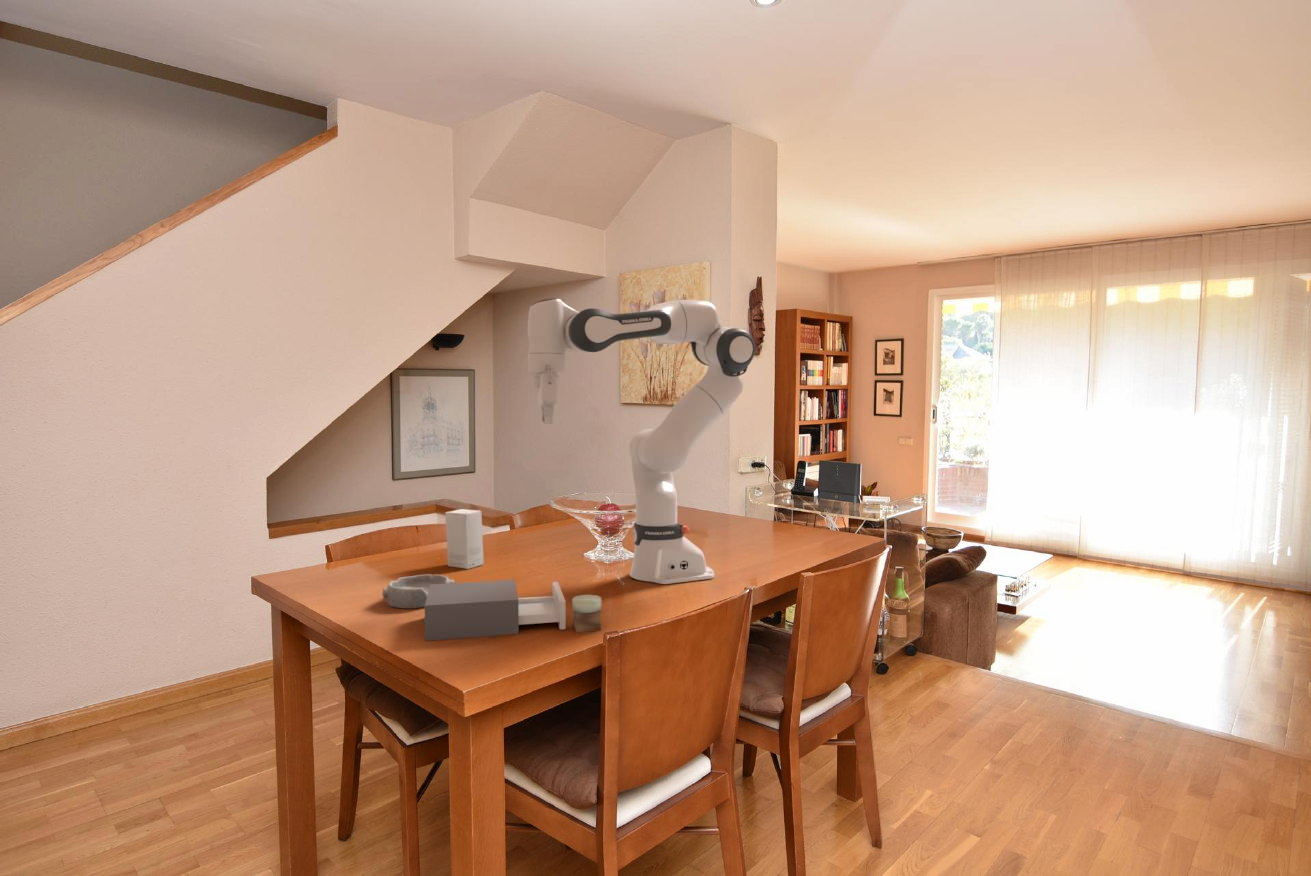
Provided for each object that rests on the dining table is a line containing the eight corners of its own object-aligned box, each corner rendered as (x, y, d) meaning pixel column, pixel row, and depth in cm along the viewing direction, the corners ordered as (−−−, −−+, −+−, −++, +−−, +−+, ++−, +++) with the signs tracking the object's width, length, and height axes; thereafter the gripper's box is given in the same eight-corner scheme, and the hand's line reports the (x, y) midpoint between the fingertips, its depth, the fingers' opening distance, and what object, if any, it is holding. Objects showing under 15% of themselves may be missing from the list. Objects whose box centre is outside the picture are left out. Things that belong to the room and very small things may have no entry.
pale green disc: (599, 603, 152) (598, 594, 152) (603, 611, 146) (603, 601, 146) (570, 605, 151) (570, 595, 150) (574, 613, 145) (574, 603, 145)
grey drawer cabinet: (515, 610, 160) (514, 579, 159) (518, 633, 144) (518, 599, 144) (431, 616, 156) (430, 584, 155) (425, 640, 140) (424, 605, 140)
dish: (459, 595, 172) (459, 575, 172) (429, 612, 159) (428, 590, 159) (406, 591, 176) (405, 571, 175) (371, 608, 162) (371, 586, 162)
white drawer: (559, 607, 162) (559, 581, 162) (567, 628, 147) (567, 601, 146) (476, 612, 158) (475, 586, 157) (475, 635, 143) (474, 607, 142)
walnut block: (597, 622, 152) (597, 604, 151) (600, 630, 147) (600, 610, 146) (573, 624, 150) (573, 605, 150) (576, 631, 146) (576, 612, 145)
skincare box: (484, 565, 202) (483, 510, 201) (466, 570, 197) (465, 513, 196) (463, 561, 207) (462, 508, 206) (445, 566, 201) (444, 511, 200)
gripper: (563, 364, 164) (564, 425, 165) (556, 367, 184) (556, 421, 184) (535, 364, 162) (536, 425, 163) (531, 367, 182) (531, 422, 183)
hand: (547, 423), depth 174 cm, fingers open, 8 cm apart
